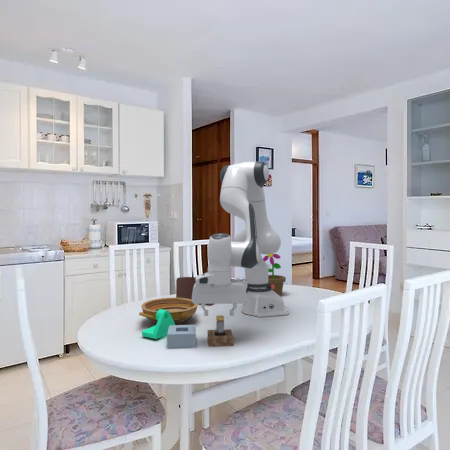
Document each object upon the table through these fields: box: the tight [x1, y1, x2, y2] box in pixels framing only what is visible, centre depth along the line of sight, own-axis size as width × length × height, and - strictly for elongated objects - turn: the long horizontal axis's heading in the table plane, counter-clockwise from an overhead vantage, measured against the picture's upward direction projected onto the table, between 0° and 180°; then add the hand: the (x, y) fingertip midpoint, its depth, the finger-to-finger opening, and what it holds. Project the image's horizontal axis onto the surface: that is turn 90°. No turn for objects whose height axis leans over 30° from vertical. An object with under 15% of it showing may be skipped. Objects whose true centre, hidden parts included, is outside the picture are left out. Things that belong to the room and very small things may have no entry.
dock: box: [166, 324, 197, 349], centre depth 135 cm, size 10×10×5 cm
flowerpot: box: [262, 253, 286, 297], centre depth 209 cm, size 14×14×30 cm
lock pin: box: [215, 314, 225, 336], centre depth 136 cm, size 3×3×10 cm
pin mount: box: [207, 328, 235, 347], centre depth 136 cm, size 9×9×3 cm
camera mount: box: [141, 309, 175, 340], centre depth 143 cm, size 12×8×10 cm, turn 150°
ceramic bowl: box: [138, 297, 199, 325], centre depth 159 cm, size 30×24×8 cm
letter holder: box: [175, 276, 214, 307], centre depth 194 cm, size 10×20×14 cm, turn 71°
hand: (218, 315), depth 135 cm, fingers open, 8 cm apart
